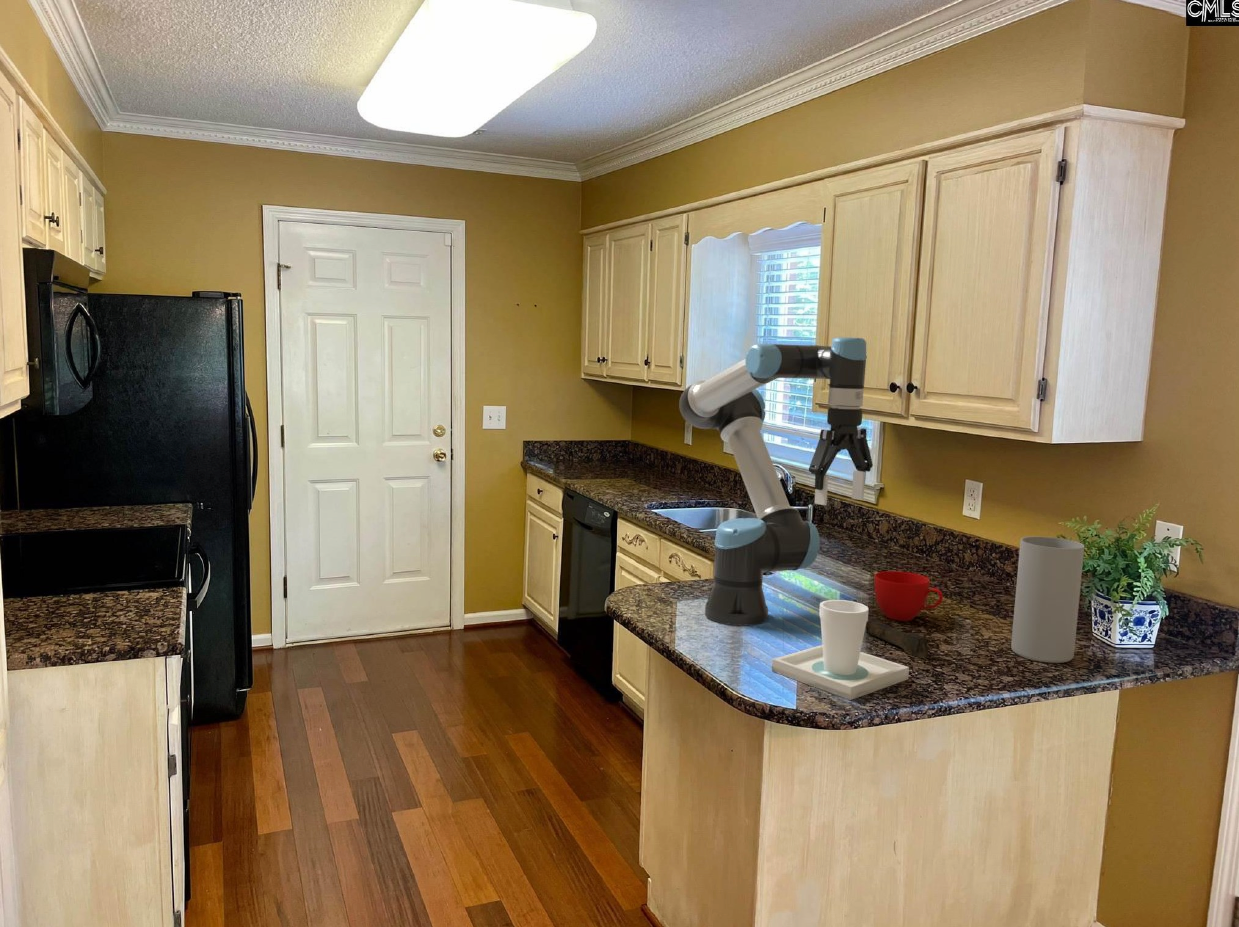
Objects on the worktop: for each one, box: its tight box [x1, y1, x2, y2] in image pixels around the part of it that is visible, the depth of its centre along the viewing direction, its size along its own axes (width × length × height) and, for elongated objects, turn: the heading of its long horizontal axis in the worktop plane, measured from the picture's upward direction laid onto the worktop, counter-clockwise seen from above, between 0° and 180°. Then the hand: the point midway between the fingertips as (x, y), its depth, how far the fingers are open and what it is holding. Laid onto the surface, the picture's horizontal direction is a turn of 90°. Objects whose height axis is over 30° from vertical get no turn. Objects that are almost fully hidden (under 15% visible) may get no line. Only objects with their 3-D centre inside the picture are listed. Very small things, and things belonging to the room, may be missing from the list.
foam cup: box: [818, 599, 869, 675], centre depth 186 cm, size 10×9×13 cm
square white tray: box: [771, 644, 910, 701], centre depth 187 cm, size 19×19×2 cm
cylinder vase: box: [1010, 536, 1085, 664], centre depth 203 cm, size 12×12×25 cm
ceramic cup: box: [873, 570, 944, 622], centre depth 228 cm, size 13×17×10 cm
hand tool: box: [865, 618, 929, 660], centre depth 207 cm, size 19×4×5 cm, turn 20°
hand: (839, 501), depth 210 cm, fingers open, 13 cm apart
